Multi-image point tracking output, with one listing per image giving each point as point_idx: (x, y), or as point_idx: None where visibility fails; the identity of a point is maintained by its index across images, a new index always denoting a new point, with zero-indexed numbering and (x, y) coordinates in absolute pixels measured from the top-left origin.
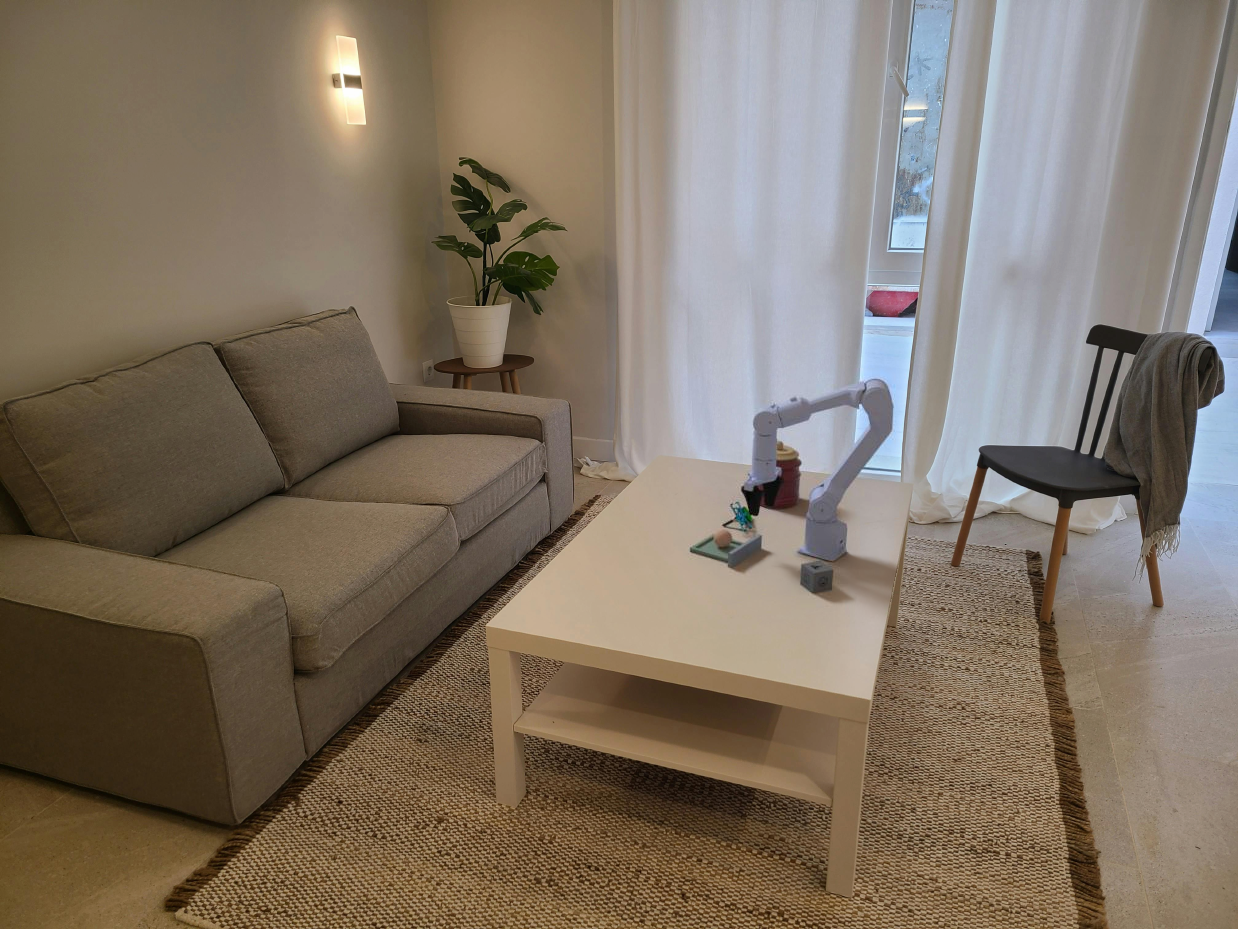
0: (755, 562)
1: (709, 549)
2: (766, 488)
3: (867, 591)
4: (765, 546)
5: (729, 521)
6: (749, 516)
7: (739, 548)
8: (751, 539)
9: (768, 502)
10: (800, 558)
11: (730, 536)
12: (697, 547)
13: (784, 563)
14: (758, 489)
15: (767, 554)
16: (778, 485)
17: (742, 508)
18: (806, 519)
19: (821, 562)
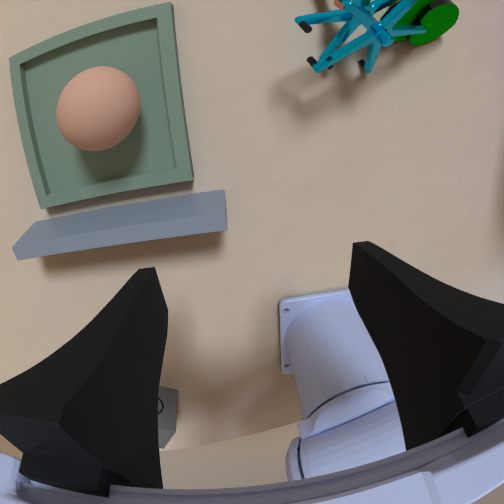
0: (120, 258)
1: (59, 92)
2: (415, 329)
3: (211, 433)
4: (252, 204)
5: None
6: (431, 32)
7: (59, 250)
8: (154, 228)
9: (361, 278)
10: (249, 322)
11: (101, 147)
12: (40, 56)
13: (186, 313)
14: (131, 485)
15: (198, 248)
16: (405, 430)
17: (434, 3)
18: (329, 391)
19: (168, 434)
